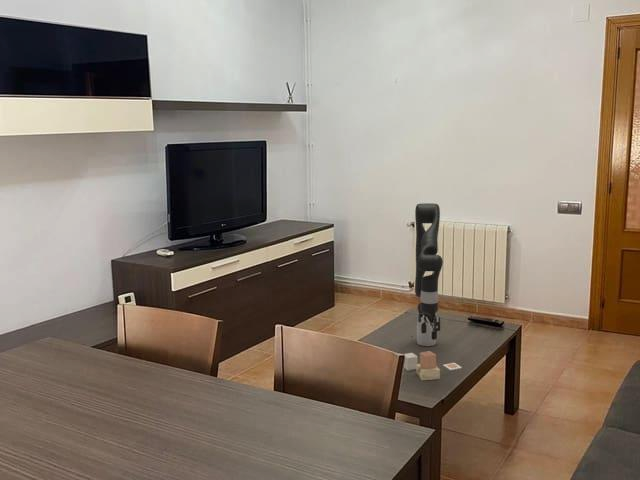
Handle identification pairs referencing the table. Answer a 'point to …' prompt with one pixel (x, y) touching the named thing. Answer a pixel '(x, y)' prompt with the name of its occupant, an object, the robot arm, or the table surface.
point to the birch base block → (428, 373)
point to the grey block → (410, 361)
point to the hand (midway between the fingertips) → (428, 336)
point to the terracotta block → (427, 360)
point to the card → (452, 366)
